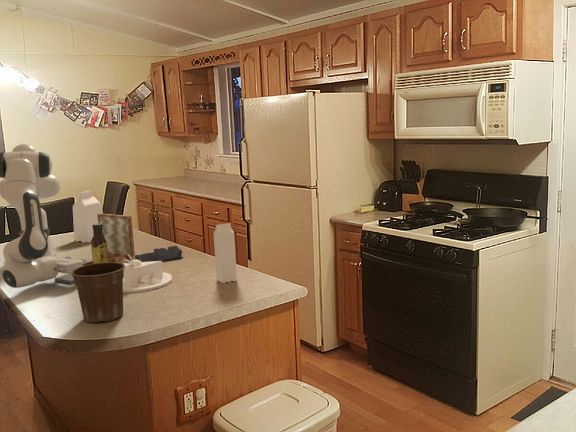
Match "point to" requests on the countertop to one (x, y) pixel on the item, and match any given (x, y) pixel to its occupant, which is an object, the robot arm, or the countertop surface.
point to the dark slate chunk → (161, 255)
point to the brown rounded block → (121, 260)
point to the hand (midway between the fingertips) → (77, 259)
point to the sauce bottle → (99, 245)
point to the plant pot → (100, 290)
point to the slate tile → (65, 279)
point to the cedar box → (117, 236)
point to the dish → (144, 276)
